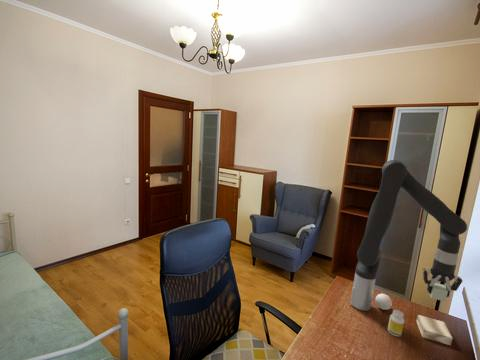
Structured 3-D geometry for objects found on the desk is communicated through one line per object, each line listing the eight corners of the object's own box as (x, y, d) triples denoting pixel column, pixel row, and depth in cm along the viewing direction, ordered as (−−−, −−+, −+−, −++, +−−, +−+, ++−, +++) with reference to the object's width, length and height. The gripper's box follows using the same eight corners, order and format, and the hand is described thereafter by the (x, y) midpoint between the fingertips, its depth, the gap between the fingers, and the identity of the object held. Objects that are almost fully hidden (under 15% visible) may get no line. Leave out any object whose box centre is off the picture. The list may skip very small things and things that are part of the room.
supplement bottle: (403, 338, 106) (407, 318, 104) (390, 335, 107) (393, 316, 105) (398, 328, 112) (402, 309, 110) (385, 326, 113) (389, 307, 111)
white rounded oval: (373, 301, 129) (375, 288, 128) (389, 306, 126) (392, 293, 125) (374, 313, 121) (376, 300, 119) (392, 318, 117) (394, 305, 116)
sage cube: (431, 297, 108) (433, 287, 107) (428, 291, 113) (430, 281, 112) (445, 301, 106) (447, 291, 105) (442, 295, 111) (444, 285, 110)
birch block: (422, 337, 108) (424, 329, 107) (416, 322, 117) (417, 314, 116) (450, 346, 104) (452, 338, 103) (441, 329, 113) (443, 321, 112)
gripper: (427, 259, 106) (419, 294, 109) (470, 268, 100) (460, 305, 103) (423, 252, 112) (416, 285, 116) (463, 260, 106) (454, 295, 110)
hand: (437, 294), depth 109 cm, fingers closed on sage cube, 5 cm apart
